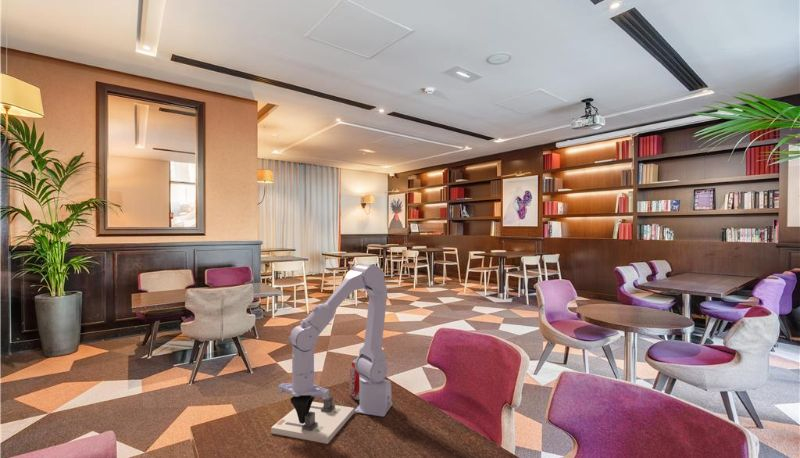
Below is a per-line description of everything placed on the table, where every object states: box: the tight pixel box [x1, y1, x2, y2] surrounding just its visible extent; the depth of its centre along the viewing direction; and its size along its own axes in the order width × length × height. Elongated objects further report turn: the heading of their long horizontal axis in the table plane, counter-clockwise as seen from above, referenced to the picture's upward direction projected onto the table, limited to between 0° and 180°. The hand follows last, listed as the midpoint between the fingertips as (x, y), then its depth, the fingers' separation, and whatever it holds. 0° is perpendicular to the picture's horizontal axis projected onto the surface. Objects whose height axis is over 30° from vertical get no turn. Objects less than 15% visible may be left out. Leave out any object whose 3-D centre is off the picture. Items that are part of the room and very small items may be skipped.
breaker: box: [321, 395, 335, 412], centre depth 103 cm, size 3×3×3 cm
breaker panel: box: [270, 401, 355, 445], centre depth 99 cm, size 17×16×2 cm
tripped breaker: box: [302, 412, 318, 431], centre depth 94 cm, size 3×3×3 cm
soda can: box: [349, 356, 360, 401], centre depth 115 cm, size 7×7×12 cm
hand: (303, 421), depth 94 cm, fingers closed
